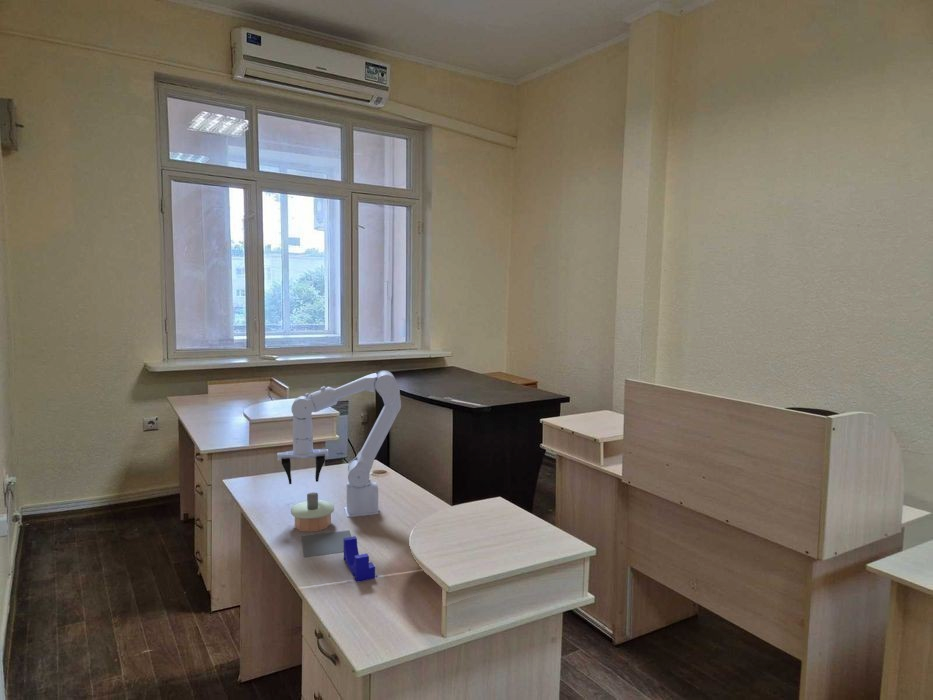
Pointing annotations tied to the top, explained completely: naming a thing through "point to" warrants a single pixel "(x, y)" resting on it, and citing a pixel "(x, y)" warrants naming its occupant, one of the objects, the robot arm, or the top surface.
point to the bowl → (312, 523)
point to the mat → (324, 543)
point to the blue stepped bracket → (357, 561)
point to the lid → (312, 508)
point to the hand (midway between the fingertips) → (303, 481)
